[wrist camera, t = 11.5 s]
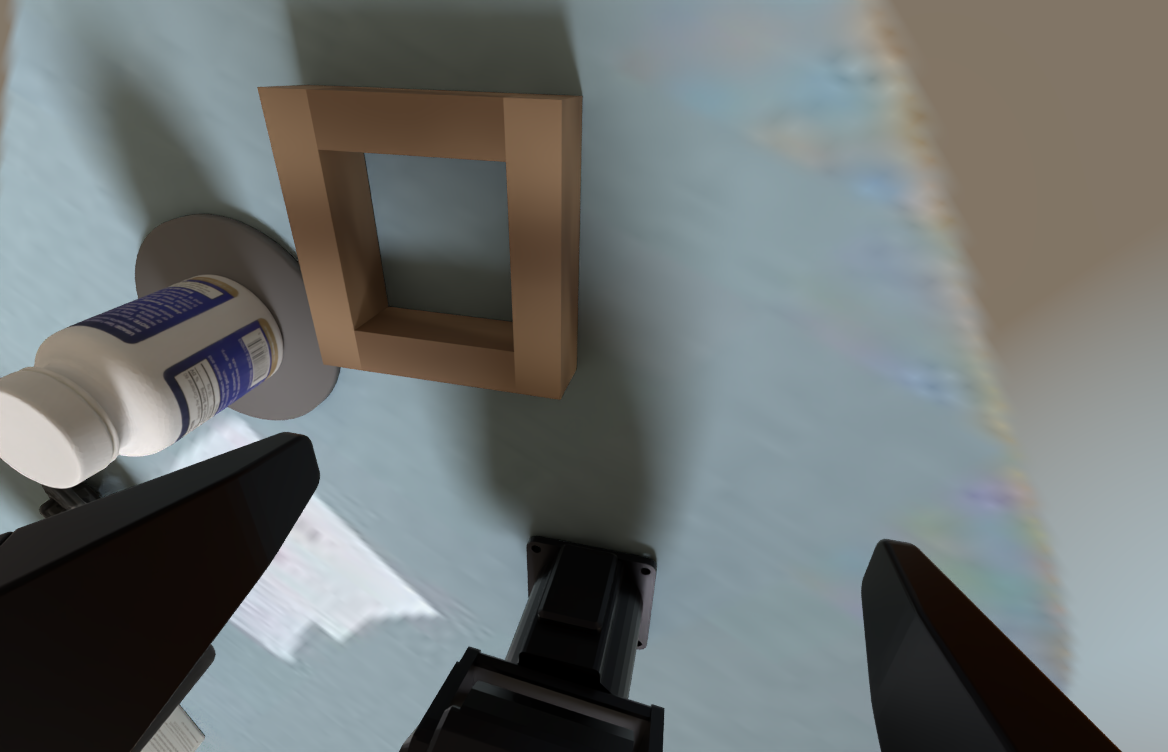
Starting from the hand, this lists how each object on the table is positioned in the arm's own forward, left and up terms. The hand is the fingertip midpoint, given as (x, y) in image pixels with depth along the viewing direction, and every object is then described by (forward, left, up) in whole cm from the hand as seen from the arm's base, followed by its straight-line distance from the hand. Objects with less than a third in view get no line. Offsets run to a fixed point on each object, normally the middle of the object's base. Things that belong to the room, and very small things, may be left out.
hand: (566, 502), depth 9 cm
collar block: (0, +8, -13) cm, 15 cm away
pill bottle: (-5, +19, -13) cm, 23 cm away
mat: (-5, +19, -13) cm, 24 cm away
